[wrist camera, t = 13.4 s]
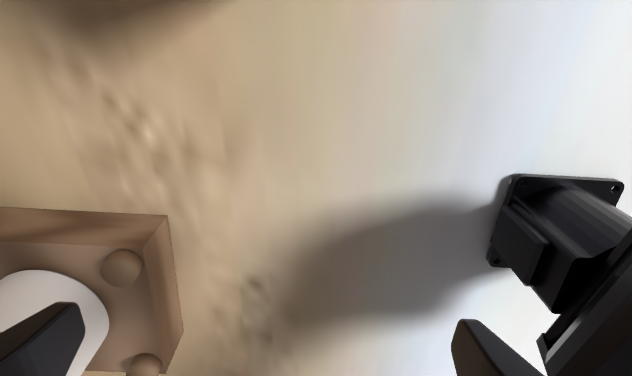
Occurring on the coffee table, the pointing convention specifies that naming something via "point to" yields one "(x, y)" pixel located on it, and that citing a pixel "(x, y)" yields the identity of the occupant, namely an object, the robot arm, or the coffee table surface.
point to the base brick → (106, 276)
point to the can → (45, 289)
